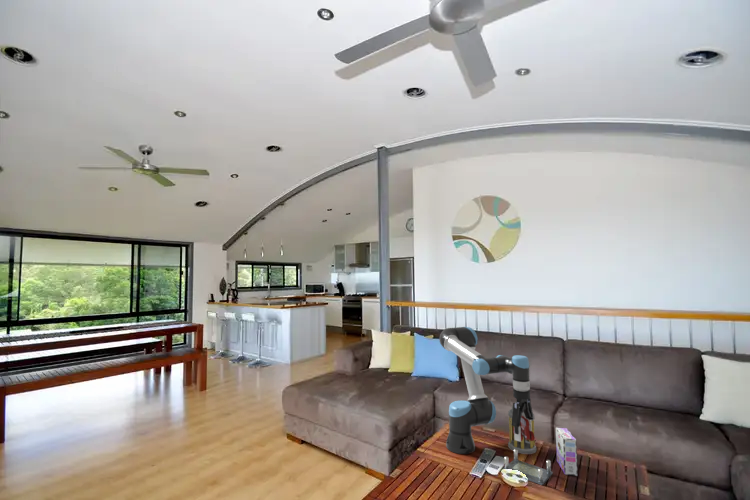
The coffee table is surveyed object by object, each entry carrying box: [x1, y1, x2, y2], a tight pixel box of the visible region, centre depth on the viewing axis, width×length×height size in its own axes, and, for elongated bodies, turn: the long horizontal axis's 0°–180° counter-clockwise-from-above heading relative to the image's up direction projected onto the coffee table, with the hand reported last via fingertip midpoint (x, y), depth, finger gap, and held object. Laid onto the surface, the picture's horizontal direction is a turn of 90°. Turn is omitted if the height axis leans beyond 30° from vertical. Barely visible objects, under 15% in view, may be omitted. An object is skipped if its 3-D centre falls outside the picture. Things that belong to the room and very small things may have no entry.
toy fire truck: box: [513, 416, 535, 441], centre depth 174 cm, size 7×12×10 cm, turn 179°
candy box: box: [554, 427, 578, 477], centre depth 178 cm, size 14×6×16 cm, turn 168°
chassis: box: [502, 449, 554, 486], centre depth 174 cm, size 18×13×6 cm
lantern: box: [507, 401, 537, 455], centre depth 199 cm, size 14×14×25 cm
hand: (523, 436), depth 174 cm, fingers closed on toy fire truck, 11 cm apart
